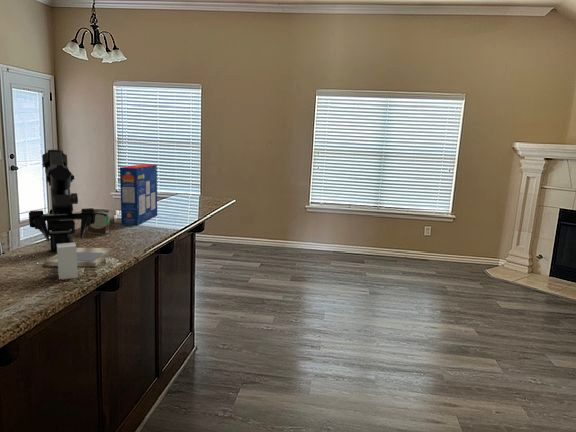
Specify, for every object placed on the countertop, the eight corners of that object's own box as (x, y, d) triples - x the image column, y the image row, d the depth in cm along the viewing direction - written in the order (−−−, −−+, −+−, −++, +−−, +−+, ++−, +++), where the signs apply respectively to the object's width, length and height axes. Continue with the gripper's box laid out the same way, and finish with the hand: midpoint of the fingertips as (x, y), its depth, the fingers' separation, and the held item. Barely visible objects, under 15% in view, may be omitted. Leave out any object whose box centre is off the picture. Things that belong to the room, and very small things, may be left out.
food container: (117, 232, 189) (117, 210, 187) (108, 235, 183) (107, 212, 181) (94, 229, 192) (94, 208, 190) (85, 232, 186) (84, 210, 184)
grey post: (58, 274, 131) (56, 243, 129) (76, 272, 133) (74, 242, 132) (59, 279, 127) (57, 247, 125) (77, 277, 129) (76, 246, 127)
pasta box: (143, 214, 232) (142, 164, 227) (157, 215, 232) (156, 164, 227) (121, 224, 204) (119, 167, 199) (137, 225, 204) (136, 168, 199)
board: (45, 265, 139) (45, 261, 138) (67, 251, 156) (67, 246, 156) (95, 266, 140) (95, 261, 140) (112, 252, 158) (112, 247, 158)
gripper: (26, 185, 128) (29, 227, 121) (93, 184, 138) (99, 223, 130) (28, 206, 136) (30, 247, 129) (91, 204, 146) (97, 242, 138)
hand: (65, 239), depth 131 cm, fingers open, 9 cm apart
